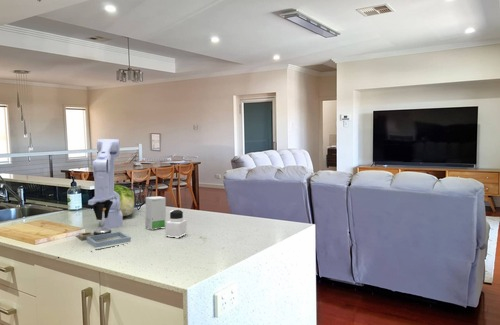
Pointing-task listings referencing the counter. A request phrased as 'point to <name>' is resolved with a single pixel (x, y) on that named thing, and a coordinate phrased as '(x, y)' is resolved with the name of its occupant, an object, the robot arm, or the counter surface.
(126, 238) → the tray
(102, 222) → the lock pin
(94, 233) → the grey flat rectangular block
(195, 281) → the counter surface
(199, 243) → the counter surface
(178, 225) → the medicine bottle
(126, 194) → the lettuce
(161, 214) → the skincare box
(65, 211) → the counter surface
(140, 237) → the counter surface
